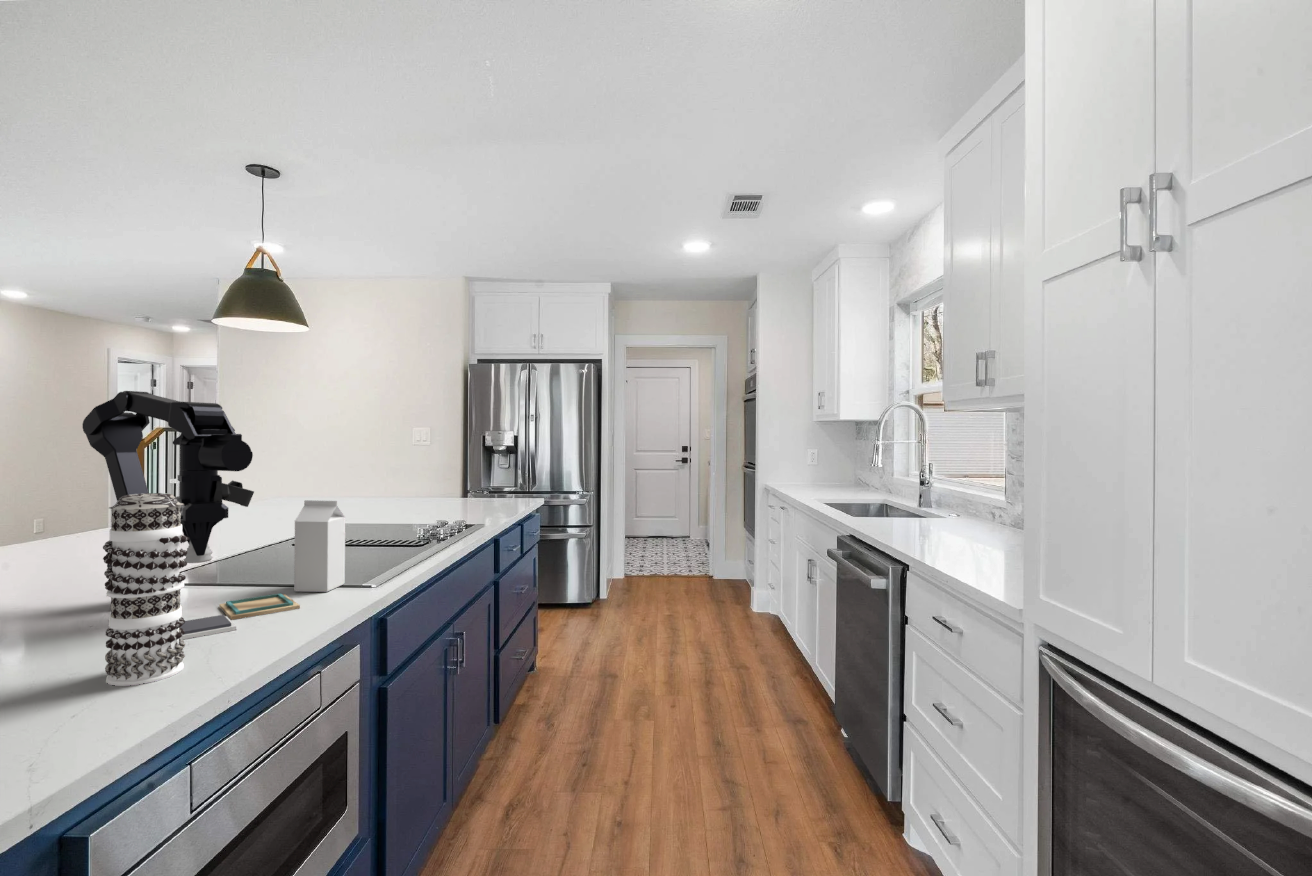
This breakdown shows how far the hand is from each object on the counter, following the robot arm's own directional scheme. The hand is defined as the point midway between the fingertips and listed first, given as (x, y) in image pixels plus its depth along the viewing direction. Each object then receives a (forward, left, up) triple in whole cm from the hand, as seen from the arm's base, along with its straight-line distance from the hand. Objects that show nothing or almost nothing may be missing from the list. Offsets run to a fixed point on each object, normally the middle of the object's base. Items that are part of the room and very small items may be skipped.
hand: (198, 553), depth 114 cm
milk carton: (-5, +22, -11) cm, 25 cm away
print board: (+4, +9, -11) cm, 15 cm away
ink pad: (+12, -1, -11) cm, 17 cm away
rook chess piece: (0, 0, -2) cm, 2 cm away
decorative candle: (+30, -10, -11) cm, 34 cm away
